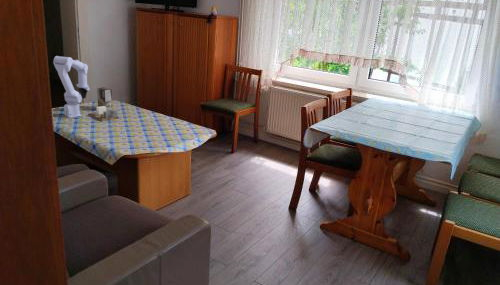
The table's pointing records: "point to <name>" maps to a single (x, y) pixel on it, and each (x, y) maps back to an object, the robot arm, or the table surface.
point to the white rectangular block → (100, 110)
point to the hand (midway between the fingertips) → (83, 98)
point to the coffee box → (105, 98)
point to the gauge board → (105, 115)
